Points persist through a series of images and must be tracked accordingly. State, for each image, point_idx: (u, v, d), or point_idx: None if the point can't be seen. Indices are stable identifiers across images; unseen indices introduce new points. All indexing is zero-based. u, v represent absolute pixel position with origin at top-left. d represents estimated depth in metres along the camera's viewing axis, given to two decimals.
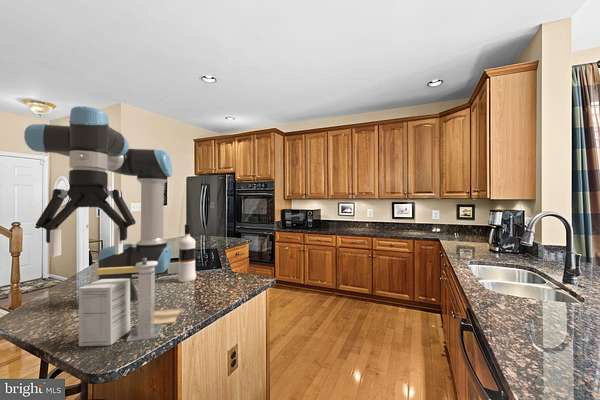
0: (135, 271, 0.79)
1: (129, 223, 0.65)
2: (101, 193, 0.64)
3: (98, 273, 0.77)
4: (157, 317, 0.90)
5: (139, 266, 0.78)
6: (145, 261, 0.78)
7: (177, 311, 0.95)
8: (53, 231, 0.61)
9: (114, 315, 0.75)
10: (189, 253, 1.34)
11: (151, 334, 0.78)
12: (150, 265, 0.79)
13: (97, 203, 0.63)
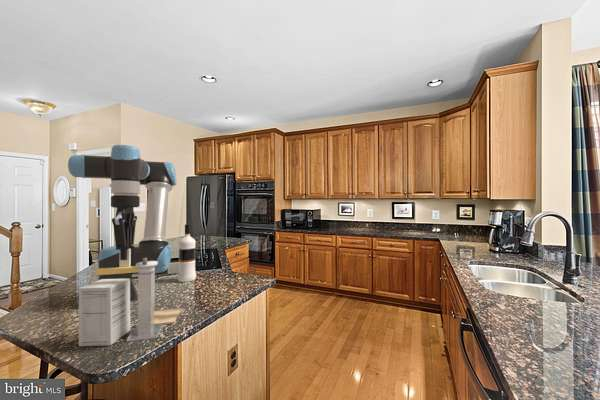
0: (135, 271, 0.79)
1: None
2: None
3: (97, 273, 0.76)
4: (157, 317, 0.90)
5: (139, 266, 0.78)
6: (145, 261, 0.78)
7: (177, 311, 0.95)
8: None
9: (114, 315, 0.75)
10: (189, 253, 1.34)
11: (151, 334, 0.78)
12: (150, 265, 0.79)
13: None
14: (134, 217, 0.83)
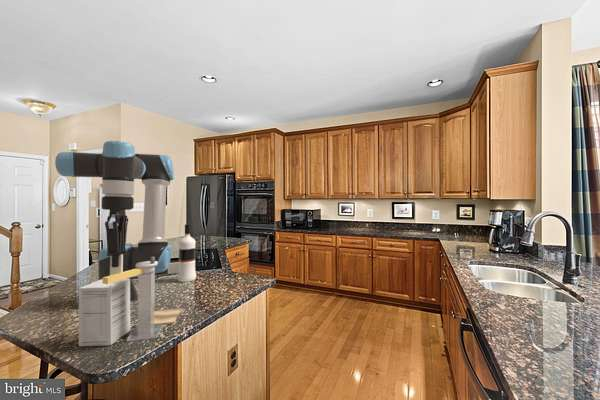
0: (141, 272, 0.78)
1: None
2: None
3: (109, 282, 0.68)
4: (157, 317, 0.90)
5: (150, 265, 0.79)
6: (154, 260, 0.80)
7: (177, 311, 0.95)
8: (111, 256, 0.73)
9: (114, 315, 0.75)
10: (189, 253, 1.34)
11: (151, 334, 0.78)
12: (157, 263, 0.82)
13: None
14: (127, 220, 0.76)
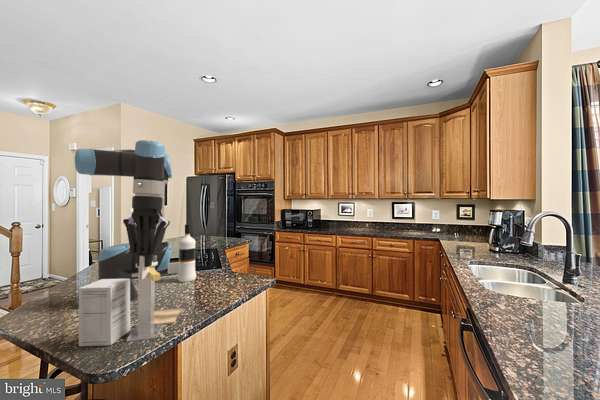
0: None
1: (151, 252, 0.71)
2: (154, 216, 0.72)
3: (159, 278, 0.72)
4: (157, 317, 0.90)
5: (157, 263, 0.82)
6: None
7: (177, 311, 0.95)
8: (141, 257, 0.72)
9: (114, 315, 0.75)
10: (189, 253, 1.34)
11: (151, 334, 0.78)
12: None
13: (145, 226, 0.71)
14: None
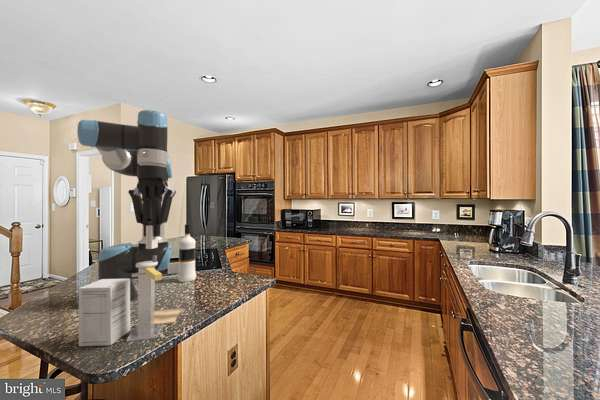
0: None
1: (160, 221, 0.72)
2: (160, 186, 0.72)
3: None
4: (157, 317, 0.90)
5: (157, 263, 0.82)
6: None
7: (177, 311, 0.95)
8: (148, 227, 0.72)
9: (114, 315, 0.75)
10: (189, 253, 1.34)
11: (151, 334, 0.78)
12: None
13: (152, 196, 0.72)
14: None
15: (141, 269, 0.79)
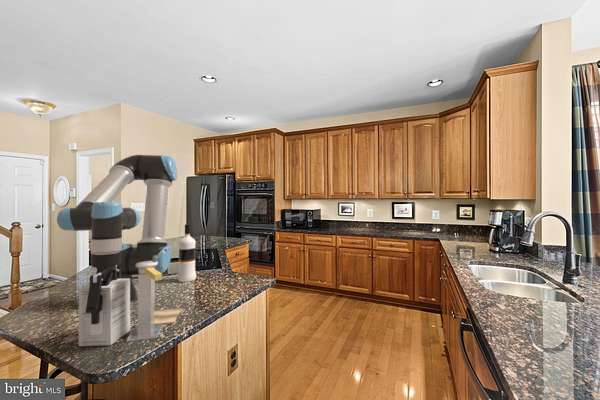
0: None
1: None
2: None
3: None
4: (157, 317, 0.90)
5: (157, 263, 0.82)
6: None
7: (177, 311, 0.95)
8: None
9: (114, 315, 0.75)
10: (189, 253, 1.34)
11: (151, 334, 0.78)
12: None
13: None
14: (116, 272, 0.80)
15: (141, 269, 0.79)
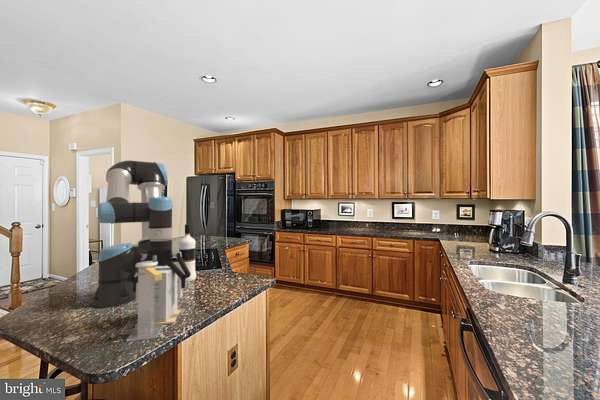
0: None
1: (188, 276, 0.93)
2: (169, 256, 0.91)
3: None
4: None
5: (157, 263, 0.82)
6: None
7: (177, 311, 0.95)
8: None
9: None
10: (189, 253, 1.34)
11: (151, 334, 0.78)
12: None
13: (167, 263, 0.91)
14: None
15: (141, 269, 0.79)
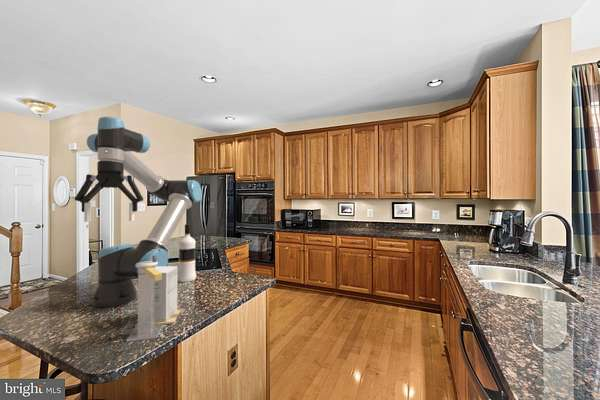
0: None
1: (139, 199, 0.92)
2: (119, 177, 0.91)
3: None
4: None
5: (157, 263, 0.82)
6: None
7: (177, 311, 0.95)
8: (86, 203, 0.88)
9: None
10: (189, 253, 1.34)
11: (151, 334, 0.78)
12: None
13: (117, 184, 0.90)
14: None
15: (141, 269, 0.79)
